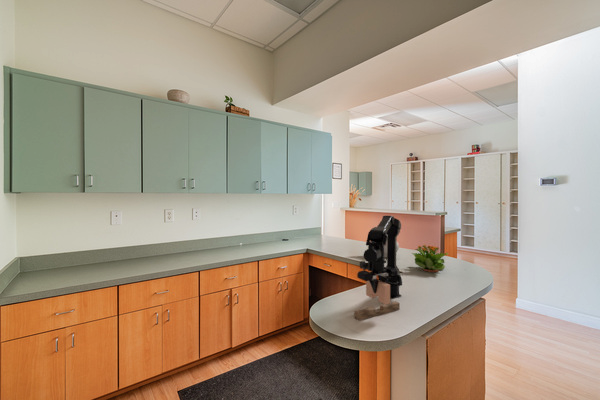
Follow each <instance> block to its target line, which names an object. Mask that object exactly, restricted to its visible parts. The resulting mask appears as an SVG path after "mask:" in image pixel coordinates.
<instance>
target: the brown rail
mask: <svg viewBox="0 0 600 400" xmlns="http://www.w3.org/2000/svg"><path fill="white" fill-rule="evenodd" d="M398 310H400V302H398V301H397V300H395V301H390V303H389V304H383V303H381V304H380V305H379V308H374V307H372V306H370V307H366V308H361V309H357V310H355V311H354V316H353V317H354V319H355V320H356V321H361V320H365V319H369V318H373V317H376V316H380V315H384V314H388V313H392V312H394V311H398Z"/></svg>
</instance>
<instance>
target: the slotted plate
mask: <svg viewBox="0 0 600 400" xmlns="http://www.w3.org/2000/svg"><path fill="white" fill-rule="evenodd" d="M365 295H366V296H367V297H369V298H371V299H372V298H373V299H374V298H377V297H378V303H381V304H389V303H390V302H391V297H390V284H387V283H385V282H382V281H380V280H379V279H378V286H377V291H376V293H374V292H373V289H372V286H371V284H370V282H369V281H365Z"/></svg>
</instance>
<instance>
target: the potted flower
mask: <svg viewBox="0 0 600 400" xmlns="http://www.w3.org/2000/svg"><path fill="white" fill-rule="evenodd" d="M439 249H440V248H439V246H438V247H437V246H435V245H426V244H423V245H422V246H421V245H418V246H417V248H416V249H414V250H415V251H418V252H415V253H414V252H412V255H413V256H414V257H415V258H414V263H415V265H416V266H417V267H419V268H421V269H423V271H425V272H428V273H437V272H438V271H443V270H444V269H445V268H446V265H445V263H446V262H445V259H444V258H443V257H444V256H446V255H449V252H439ZM437 252H438V253H437Z"/></svg>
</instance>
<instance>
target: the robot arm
mask: <svg viewBox="0 0 600 400" xmlns="http://www.w3.org/2000/svg"><path fill="white" fill-rule="evenodd" d="M374 227H375V228H374ZM374 227H372V228H370V230H369V231H368V234H367V239H366V241H365V242H366V243H365V246H366V247H367V249H365V250H364V252H363V258H364V260H363V261H359V268H360V269H362V270H361V271H360V270H359V271H358V272H357V274H356V275H357V276H356V277H357V279H360V280H362V281H364V282H366V281H369V282H370V284H371V286H372V289H373V292H374V293H376V291H377V286H378V280H380V281H382V282H385V283H387V284H390V299H395V298H399V297H402V294H400V287H401V286H403V280H402V275H401V274H400V269H399V267H398V266H397V252H396V245H397V242H398V240H397V239H398V238H397V237H398V236H399V234H400V233H401V229H402V223H401V221H400V219H397V218H395V216H393V215H383V216H382V219H381V221H380V222H379V223H378V225H377V226H374ZM386 243H387V257H386V260H385V257H384V246H385V245H386ZM385 264H386V266H385Z"/></svg>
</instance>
